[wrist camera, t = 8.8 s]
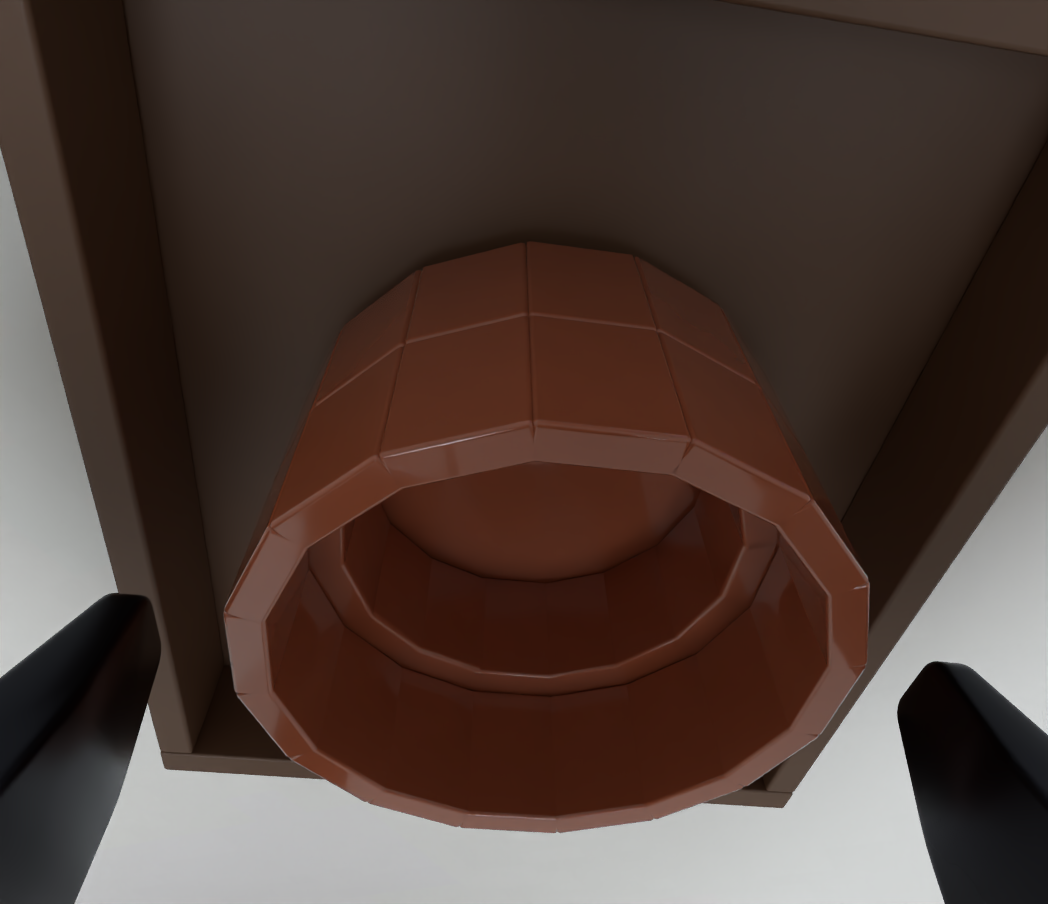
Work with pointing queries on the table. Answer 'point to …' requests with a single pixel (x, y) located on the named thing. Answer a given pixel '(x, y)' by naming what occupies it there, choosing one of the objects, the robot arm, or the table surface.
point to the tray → (518, 217)
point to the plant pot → (544, 554)
